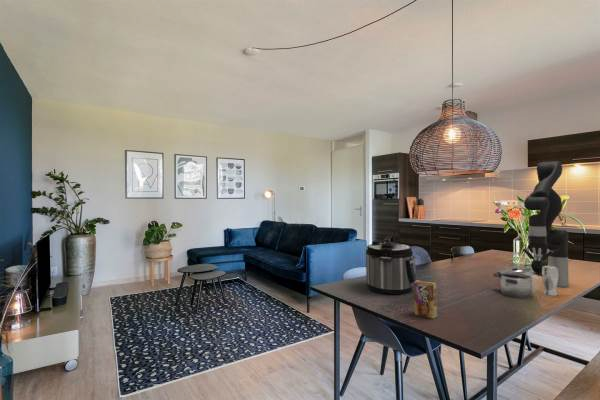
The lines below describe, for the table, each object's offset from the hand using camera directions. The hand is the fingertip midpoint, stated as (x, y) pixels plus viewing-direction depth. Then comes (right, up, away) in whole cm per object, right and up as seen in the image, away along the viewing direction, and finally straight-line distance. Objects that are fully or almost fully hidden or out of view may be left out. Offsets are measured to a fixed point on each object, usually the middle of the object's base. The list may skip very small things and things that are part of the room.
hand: (538, 267), depth 161 cm
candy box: (-68, -18, -21) cm, 73 cm away
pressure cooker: (-71, -18, +22) cm, 77 cm away
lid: (-7, -4, +8) cm, 11 cm away
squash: (+42, -16, +48) cm, 66 cm away
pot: (-7, -16, +9) cm, 20 cm away
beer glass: (+11, -16, +5) cm, 20 cm away
